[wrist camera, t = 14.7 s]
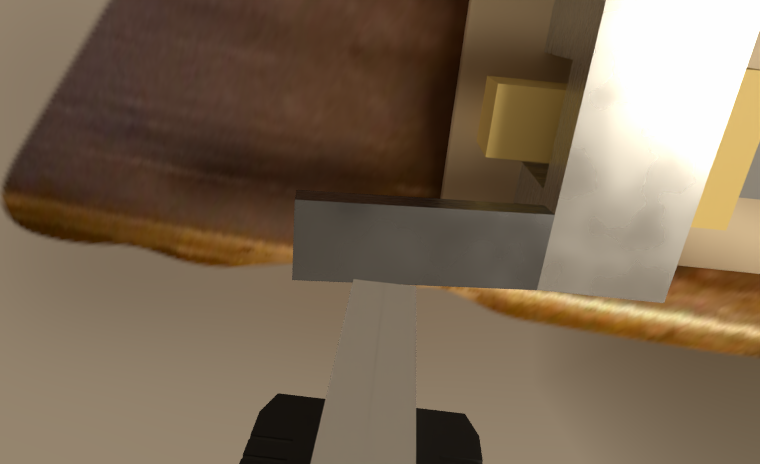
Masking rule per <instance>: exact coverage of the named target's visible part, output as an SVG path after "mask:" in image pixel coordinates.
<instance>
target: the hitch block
mask: <svg viewBox="0 0 760 464" xmlns="http://www.w3.org/2000/svg"><path fill="white" fill-rule="evenodd" d="M759 30H760V0H555V1H554V6H553V11H552V16H551V21H550V26H549V31H548V36H547V40H546V45H545V50H544V52H545V53H549V54H553V55H557V56H560V57H564V58H568V59H572V60H573V61H572V66H571V70H570V75H569V79H568V84H567V88H566V93H565V97H564V101H563V106H562V110H561V115H560V119H559V124H558V128H557V132H556V137H555V141H554V146H553V150H552V155H551V159H550V164H549V165H547V164H537V163H527V162H522V163H521V168H520V173H519V178H518V183H517V188H516V192H515V197H514V202H513V203H519V204H535V205H545V206H546V207H547V208H548V209H549V210H550V211H551V212H552V213H553V214H555V217H554V221H553V225H552V230H551V234H550V238H549V242H548V246H547V251H546V255H545V259H544V263H543V267H542V271H541V276H540V280H539V284H538V288H537V290H544V291H554V292H563V293H573V294H583V295H592V296H602V297H611V298H621V299H630V300H640V301H650V302H659V303H664V301H665V298H666V296H667V293H668V290H669V287H670V284H671V281H672V278H673V276H674V273H675V270H676V267H677V264H678V261H679V258H680V256H681V253H682V250H683V247H684V244H685V241H686V238H687V236H688V233H689V230H690V227H691V224H692V221H693V218H694V216H695V213H696V210H697V207H698V204H699V201H700V198H701V196H702V193H703V190H704V187H705V184H706V181H707V178H708V176H709V173H710V170H711V167H712V164H713V161H714V158H715V156H716V153H717V150H718V147H719V144H720V141H721V138H722V135H723V133H724V130H725V127H726V124H727V121H728V118H729V115H730V113H731V110H732V107H733V104H734V101H735V98H736V95H737V93H738V90H739V87H740V84H741V81H742V78H743V75H744V73H745V70H746V67H747V64H748V61H749V58H750V55H751V53H752V50H753V47H754V44H755V41H756V38H757V35H758V33H759Z"/></svg>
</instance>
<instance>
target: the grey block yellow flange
mask: <svg viewBox="0 0 760 464" xmlns="http://www.w3.org/2000/svg"><path fill="white" fill-rule="evenodd" d="M566 88H567V83H556V82H546V81H536V80H526V79H515V78H505V77H495V76H487V80H486V86H485V92H484V99H483V105H482V111H481V117H480V123H479V129H478V135H477V143H478V145H479V147H480V148H481V150H482V152H483V154H484V155H485V157H489V158H499V159H510V160H520V161H530V162H540V163H550V159H551V155H552V150H553V146H554V141H555V137H556V132H557V128H558V124H559V119H560V115H561V110H562V106H563V101H564V97H565V93H566ZM738 198H749V199H759V200H760V69H755V68H748V67H746V70H745V73H744V75H743V78H742V81H741V84H740V87H739V90H738V93H737V95H736V98H735V101H734V104H733V107H732V110H731V113H730V115H729V118H728V121H727V124H726V127H725V130H724V133H723V135H722V138H721V141H720V144H719V147H718V150H717V153H716V156H715V158H714V161H713V164H712V167H711V170H710V173H709V176H708V178H707V181H706V184H705V187H704V190H703V193H702V196H701V198H700V201H699V204H698V207H697V210H696V213H695V216H694V218H693V221H692V224H691V227H695V228H705V229H715V230H725V231H726V230H727V227H728V224H729V222H730V219H731V216H732V214H733V211H734V208H735V206H736V203H737V200H738Z"/></svg>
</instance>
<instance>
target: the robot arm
mask: <svg viewBox="0 0 760 464" xmlns="http://www.w3.org/2000/svg"><path fill="white" fill-rule="evenodd" d="M239 464H482V453H481V447H480V440H479V435H478V434H477V432H476V431H475V429H474V428H473V426H472V424H471V423H470V421H469V420H468V418H467V417H466V415H465V414H462V413H454V412H445V411H437V410H428V409H419V408H416V286H410V285H401V284H392V283H383V282H375V281H366V280H357V279H353V284H352V288H351V292H350V296H349V301H348V305H347V309H346V314H345V318H344V322H343V327H342V331H341V335H340V339H339V344H338V348H337V352H336V357H335V361H334V365H333V369H332V374H331V378H330V382H329V386H328V391H327V395H326V399H320V398H311V397H303V396H295V395H287V394H277V395H276V396H275V397H274V398H273V399H272V400H271V401H270V402H269V403H268V404H267V405H266V406H265V407H264V408H263V409H262V410H261V411H260V412H259V415H258V417H257V420H256V423H255V425H254V427H253V430H252V432H251V436H250V439H249V440H248V443H247V445H246V448H245V451H244V453H243V458H242V459H241V461H240V463H239Z"/></svg>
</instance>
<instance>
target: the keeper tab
mask: <svg viewBox="0 0 760 464" xmlns="http://www.w3.org/2000/svg"><path fill="white" fill-rule="evenodd" d="M554 217H555V214H553V213H552V212H551V211H550V210H549V209H548V208H547V207H546V206H545V205H535V204H519V203H502V202H486V201H469V200H453V199H437V198H420V197H404V196H387V195H371V194H354V193H338V192H322V191H305V190H297V191H296V197H295V212H294V244H293V276H292V280H307V281H330V282H353V279H357V280H366V281H375V282H383V283H392V284H403V285H427V286H452V287H476V288H500V289H525V290H537V288H538V284H539V280H540V276H541V271H542V267H543V263H544V259H545V255H546V251H547V246H548V242H549V238H550V234H551V230H552V225H553V221H554Z"/></svg>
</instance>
